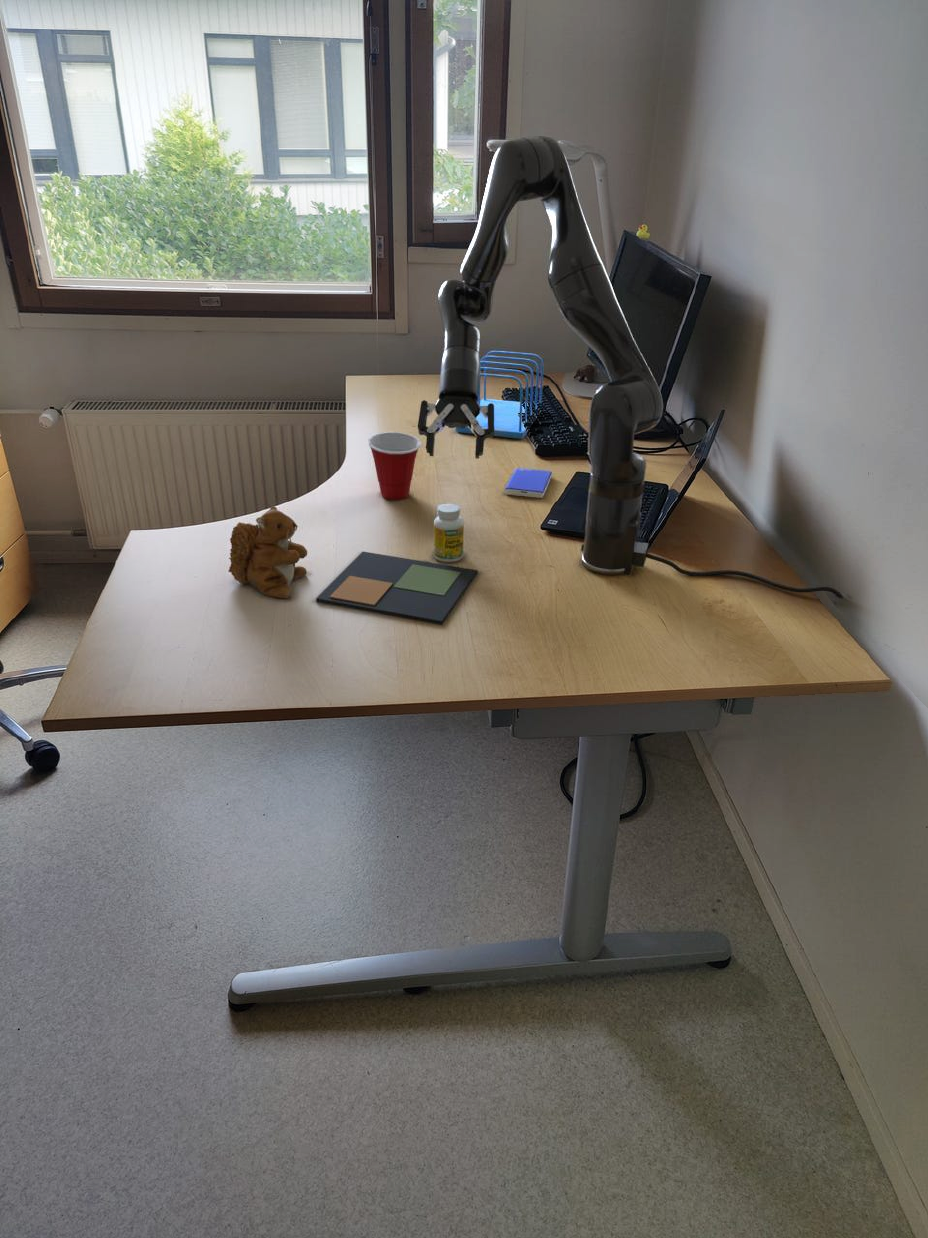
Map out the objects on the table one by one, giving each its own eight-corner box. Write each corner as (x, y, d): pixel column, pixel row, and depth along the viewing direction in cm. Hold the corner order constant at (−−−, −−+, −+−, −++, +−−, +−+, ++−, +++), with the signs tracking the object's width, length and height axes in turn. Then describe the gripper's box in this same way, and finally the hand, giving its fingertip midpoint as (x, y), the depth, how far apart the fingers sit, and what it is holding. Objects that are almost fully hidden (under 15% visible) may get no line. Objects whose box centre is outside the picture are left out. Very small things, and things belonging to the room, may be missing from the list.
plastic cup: (390, 509, 180) (389, 452, 174) (359, 493, 187) (357, 438, 181) (431, 496, 187) (432, 441, 181) (400, 481, 194) (399, 428, 188)
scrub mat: (477, 573, 156) (477, 569, 156) (441, 624, 141) (442, 620, 140) (362, 554, 162) (362, 550, 162) (316, 601, 146) (315, 597, 146)
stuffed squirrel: (291, 601, 146) (284, 527, 140) (215, 588, 150) (205, 516, 143) (317, 575, 155) (312, 504, 148) (244, 563, 158) (236, 494, 151)
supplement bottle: (452, 547, 165) (453, 499, 160) (468, 558, 161) (470, 509, 156) (428, 554, 163) (428, 505, 158) (443, 565, 159) (444, 515, 154)
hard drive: (515, 467, 198) (504, 487, 188) (552, 471, 196) (543, 491, 186) (515, 474, 199) (504, 494, 188) (551, 477, 197) (542, 498, 187)
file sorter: (482, 405, 244) (483, 348, 236) (544, 411, 240) (547, 354, 232) (455, 432, 223) (456, 371, 216) (522, 440, 219) (525, 377, 211)
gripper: (421, 365, 165) (414, 445, 161) (497, 368, 164) (492, 448, 160) (424, 385, 172) (417, 462, 168) (497, 388, 172) (492, 466, 168)
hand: (454, 455), depth 164 cm, fingers open, 8 cm apart
